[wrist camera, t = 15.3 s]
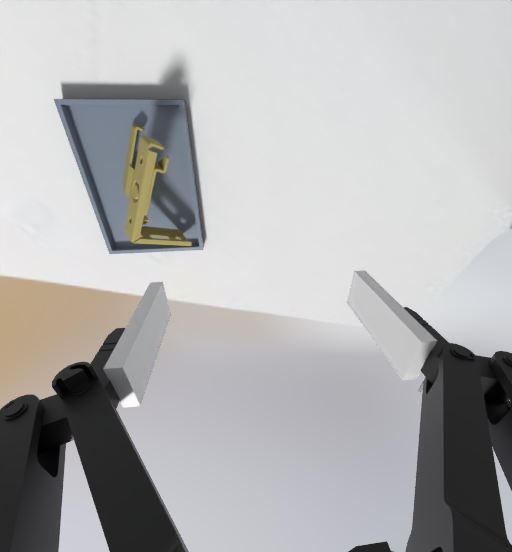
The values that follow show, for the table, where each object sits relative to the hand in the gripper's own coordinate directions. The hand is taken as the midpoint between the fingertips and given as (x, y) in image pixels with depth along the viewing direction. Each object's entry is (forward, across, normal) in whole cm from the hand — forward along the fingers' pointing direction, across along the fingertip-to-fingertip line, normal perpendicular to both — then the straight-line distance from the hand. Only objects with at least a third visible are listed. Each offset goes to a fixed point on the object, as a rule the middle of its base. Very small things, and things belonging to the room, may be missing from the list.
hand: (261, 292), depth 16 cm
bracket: (+28, -12, +2) cm, 31 cm away
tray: (+31, -16, +2) cm, 35 cm away
